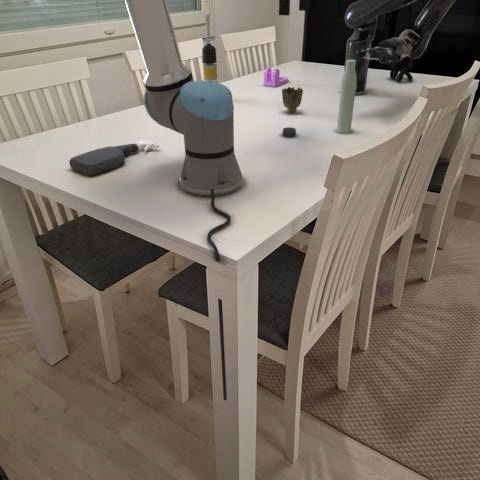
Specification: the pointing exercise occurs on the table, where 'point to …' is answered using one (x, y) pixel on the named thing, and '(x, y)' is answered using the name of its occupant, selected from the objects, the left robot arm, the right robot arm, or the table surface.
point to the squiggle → (398, 65)
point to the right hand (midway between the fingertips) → (369, 57)
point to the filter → (209, 57)
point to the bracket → (273, 78)
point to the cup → (292, 98)
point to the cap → (289, 132)
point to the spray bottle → (106, 157)
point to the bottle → (347, 98)
